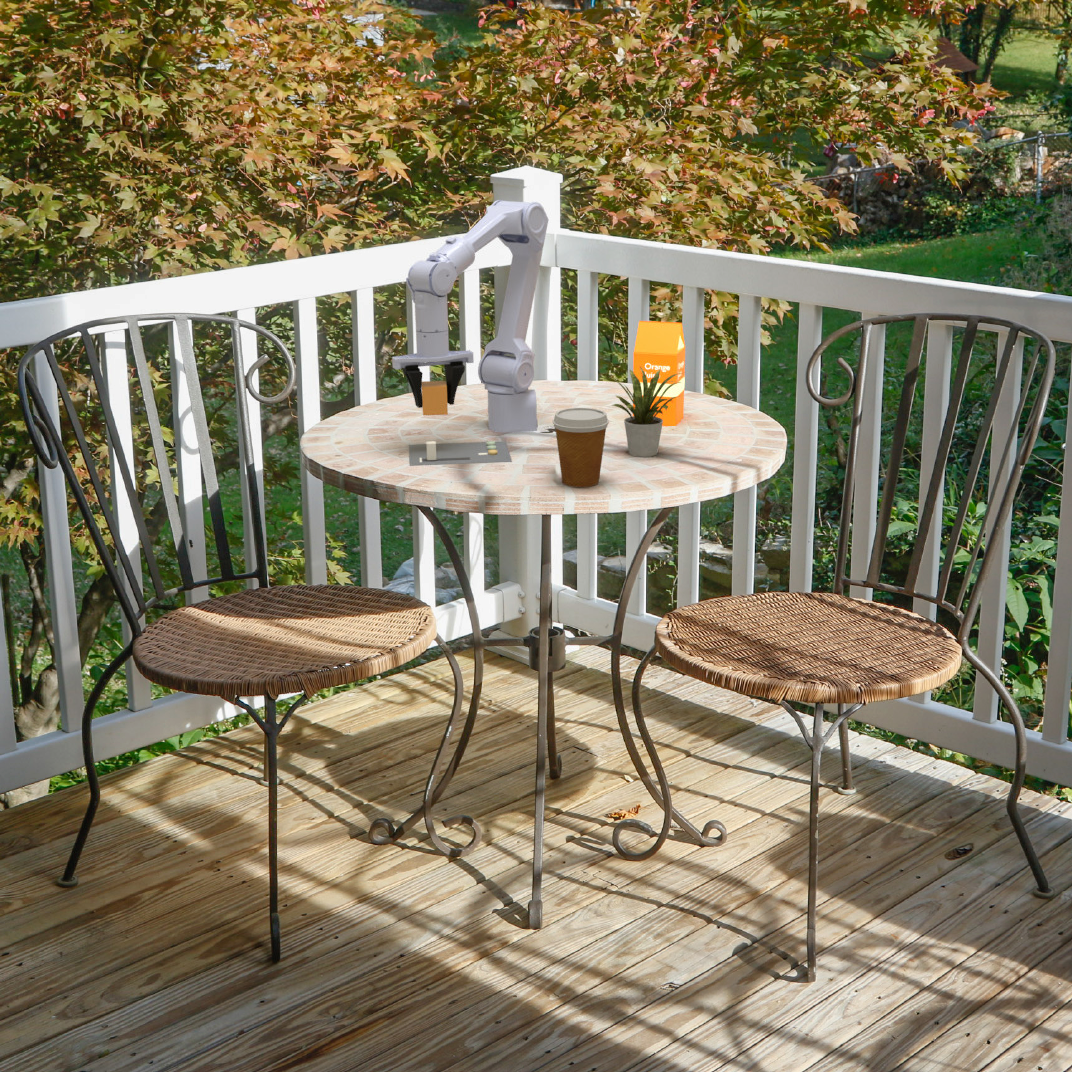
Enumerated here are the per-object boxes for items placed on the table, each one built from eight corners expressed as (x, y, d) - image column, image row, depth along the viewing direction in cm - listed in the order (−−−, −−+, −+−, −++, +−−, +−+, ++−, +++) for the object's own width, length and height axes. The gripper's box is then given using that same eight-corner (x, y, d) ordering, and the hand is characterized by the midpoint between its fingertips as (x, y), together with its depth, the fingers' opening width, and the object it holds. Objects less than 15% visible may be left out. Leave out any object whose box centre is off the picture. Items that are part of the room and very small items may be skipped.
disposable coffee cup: (612, 489, 219) (612, 419, 215) (555, 491, 219) (555, 421, 215) (604, 473, 228) (605, 406, 224) (550, 475, 228) (549, 407, 224)
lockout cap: (446, 408, 238) (445, 380, 237) (447, 414, 234) (446, 386, 233) (422, 409, 238) (421, 381, 236) (423, 415, 234) (421, 386, 232)
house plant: (704, 453, 240) (707, 365, 234) (656, 469, 230) (657, 377, 225) (644, 439, 249) (646, 354, 244) (596, 454, 240) (596, 366, 235)
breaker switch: (436, 457, 233) (435, 441, 232) (436, 460, 231) (435, 443, 230) (427, 457, 233) (426, 441, 232) (427, 460, 231) (426, 443, 230)
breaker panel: (506, 448, 244) (505, 438, 243) (512, 469, 231) (511, 458, 230) (409, 452, 242) (408, 441, 242) (409, 473, 229) (409, 462, 229)
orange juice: (675, 427, 258) (677, 326, 251) (632, 424, 261) (633, 324, 254) (683, 417, 265) (686, 319, 258) (641, 415, 268) (643, 317, 261)
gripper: (464, 323, 237) (466, 396, 242) (386, 329, 232) (390, 403, 237) (476, 329, 231) (478, 404, 235) (396, 335, 226) (400, 412, 231)
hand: (434, 405), depth 236 cm, fingers closed on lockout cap, 5 cm apart
